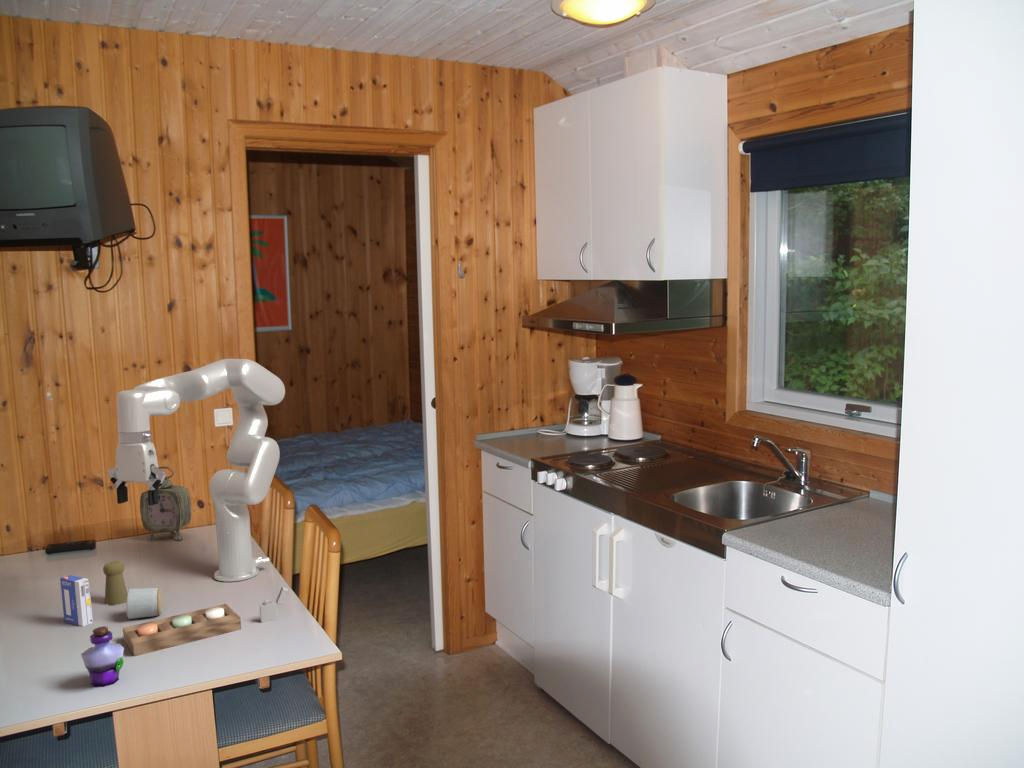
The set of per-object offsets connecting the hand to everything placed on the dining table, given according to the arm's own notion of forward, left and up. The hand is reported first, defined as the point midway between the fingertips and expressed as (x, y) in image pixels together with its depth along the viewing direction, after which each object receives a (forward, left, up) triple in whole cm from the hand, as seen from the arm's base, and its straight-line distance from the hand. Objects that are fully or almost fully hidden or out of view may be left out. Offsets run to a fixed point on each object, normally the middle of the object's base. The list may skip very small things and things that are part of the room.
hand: (138, 503), depth 229 cm
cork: (+5, -15, -30) cm, 34 cm away
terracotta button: (+4, +21, -28) cm, 35 cm away
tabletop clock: (-22, -69, -30) cm, 79 cm away
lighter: (-25, +26, -30) cm, 47 cm away
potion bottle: (+17, +37, -30) cm, 50 cm away
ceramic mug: (+1, 0, -30) cm, 30 cm away
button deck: (-4, +21, -30) cm, 36 cm away
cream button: (-12, +21, -28) cm, 37 cm away
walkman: (+16, -5, -30) cm, 34 cm away
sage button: (-4, +21, -28) cm, 35 cm away
